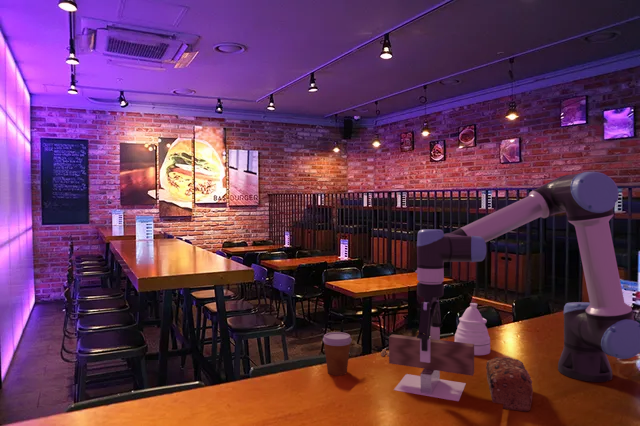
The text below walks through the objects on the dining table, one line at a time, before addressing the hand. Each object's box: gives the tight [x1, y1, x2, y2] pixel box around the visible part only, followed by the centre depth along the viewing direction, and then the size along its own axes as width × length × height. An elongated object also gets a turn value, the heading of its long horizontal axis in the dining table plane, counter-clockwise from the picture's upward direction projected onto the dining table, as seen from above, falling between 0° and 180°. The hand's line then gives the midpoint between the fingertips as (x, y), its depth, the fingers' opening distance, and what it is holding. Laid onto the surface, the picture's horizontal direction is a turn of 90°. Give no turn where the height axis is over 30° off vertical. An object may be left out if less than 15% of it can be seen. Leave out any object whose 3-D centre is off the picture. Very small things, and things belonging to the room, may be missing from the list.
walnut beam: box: [388, 333, 475, 377], centre depth 130 cm, size 24×3×8 cm, turn 64°
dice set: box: [380, 349, 389, 358], centre depth 164 cm, size 5×5×2 cm
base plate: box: [393, 373, 467, 402], centre depth 130 cm, size 18×14×2 cm
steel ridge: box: [420, 368, 441, 395], centre depth 130 cm, size 3×12×6 cm, turn 154°
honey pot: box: [454, 302, 491, 356], centre depth 170 cm, size 13×13×18 cm
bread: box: [485, 356, 534, 412], centre depth 127 cm, size 19×11×10 cm, turn 163°
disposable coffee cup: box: [322, 331, 353, 376], centre depth 147 cm, size 10×10×12 cm
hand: (430, 355), depth 130 cm, fingers open, 13 cm apart
